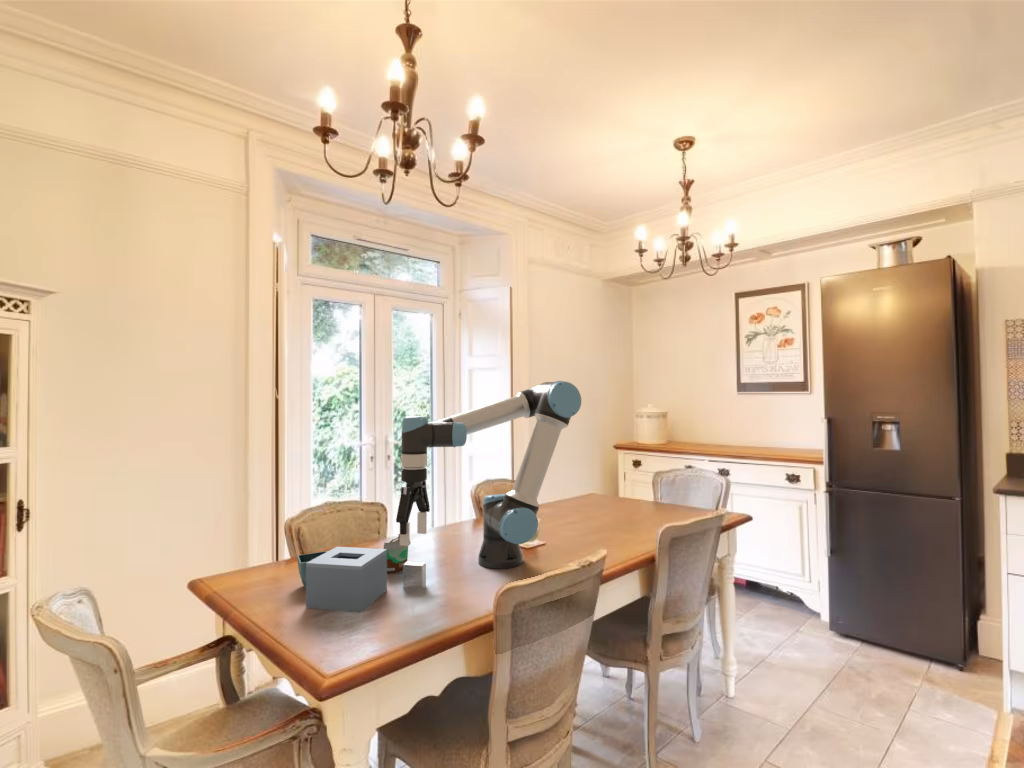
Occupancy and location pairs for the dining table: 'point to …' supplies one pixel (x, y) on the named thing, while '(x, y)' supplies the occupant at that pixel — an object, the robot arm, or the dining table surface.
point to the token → (414, 575)
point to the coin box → (346, 578)
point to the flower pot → (302, 564)
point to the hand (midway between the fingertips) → (413, 539)
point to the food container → (396, 555)
